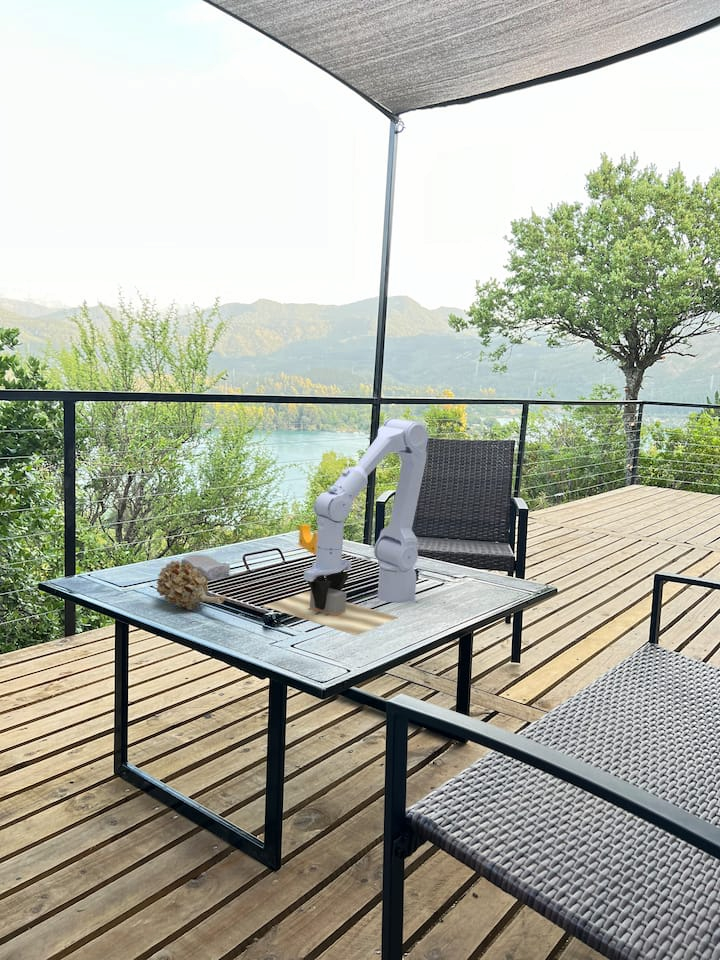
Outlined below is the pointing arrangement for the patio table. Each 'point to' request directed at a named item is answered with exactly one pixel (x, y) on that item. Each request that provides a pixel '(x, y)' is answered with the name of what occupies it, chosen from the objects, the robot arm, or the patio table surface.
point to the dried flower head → (184, 586)
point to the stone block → (207, 566)
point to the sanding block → (332, 602)
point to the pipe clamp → (307, 538)
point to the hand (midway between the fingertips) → (326, 606)
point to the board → (349, 621)
